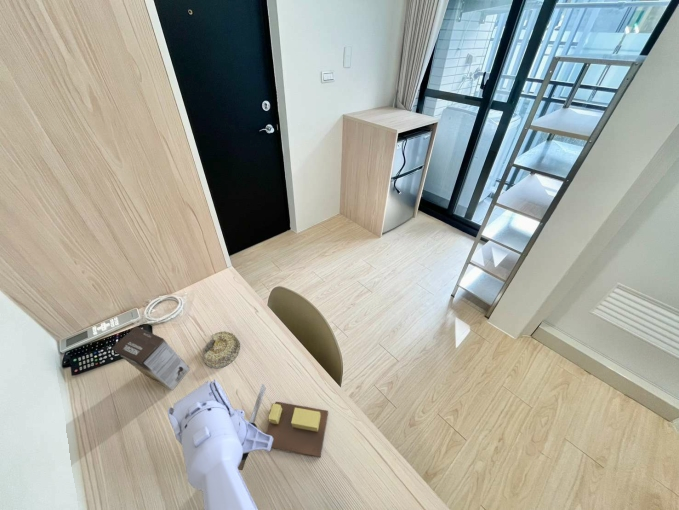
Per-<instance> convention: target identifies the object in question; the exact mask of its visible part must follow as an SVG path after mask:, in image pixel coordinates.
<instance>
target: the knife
mask: <svg viewBox="0 0 679 510" xmlns="http://www.w3.org/2000/svg"><path fill="white" fill-rule="evenodd" d="M266 389H267V388H266V386H265V384H264V383H262V384H261V386H260V389H259V392H258V394H257V395H258V396H257V398H256V401H255V404H254V406H253V410H252V412H251V415H250V418H249V421H248V422H251V423H255V422H256V420H257V419H256V418H257V415H258V413H259V410H260V407H261V404H262V401H263V397H264V396H265V395H264V394H265V392H266ZM246 461H247V459H246V460H241V462H240V464H239V466H238V470H239V471H243V470H244V467H245V464H246Z"/></svg>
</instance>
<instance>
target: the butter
mask: <svg viewBox="0 0 679 510" xmlns="http://www.w3.org/2000/svg"><path fill="white" fill-rule="evenodd" d="M320 417H321V415H320V412H317V411H312V410H306V409H300V408H295V409H294V413H293V417H292V421H291V424H292V426H293V427H295V428H301V429H306V430H311V431H317V432H318V428H319V423H320Z"/></svg>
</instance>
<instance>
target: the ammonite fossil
mask: <svg viewBox="0 0 679 510" xmlns="http://www.w3.org/2000/svg"><path fill="white" fill-rule="evenodd" d="M210 338H211V339H210V340H209V341H208V342H207V344H206V345H205V346H204V348H203V351H202V360H203V362H204V364H205V365H206V366H208V367H210V368H212V369H221V368H224V367H226V366H228V365H230V364H232V363H233V362H234V361H235V359H236V358H237V357H238V355H239V353H240V350H241V344H240V340H239V338H237V337H236V335H235V334H233V333H232V332H229V331H225V330H223V331H221V330H220V331H219V332H218V331H217V332H215V333H213V334H211V335H210Z"/></svg>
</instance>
